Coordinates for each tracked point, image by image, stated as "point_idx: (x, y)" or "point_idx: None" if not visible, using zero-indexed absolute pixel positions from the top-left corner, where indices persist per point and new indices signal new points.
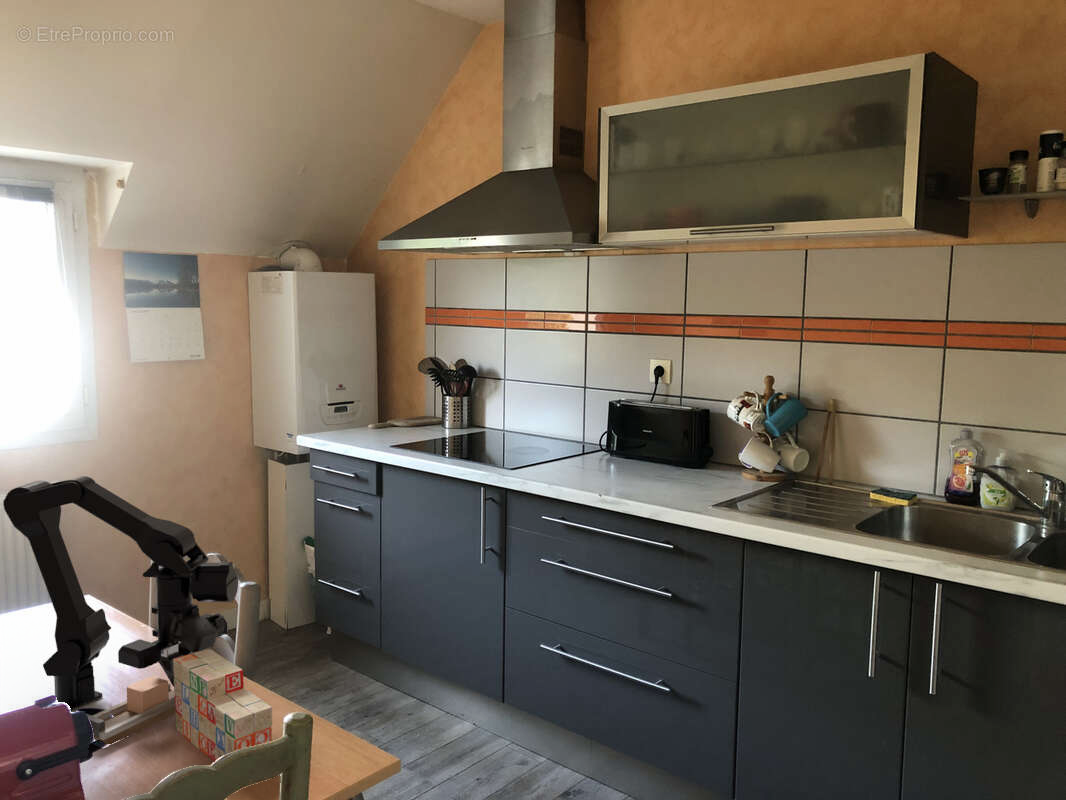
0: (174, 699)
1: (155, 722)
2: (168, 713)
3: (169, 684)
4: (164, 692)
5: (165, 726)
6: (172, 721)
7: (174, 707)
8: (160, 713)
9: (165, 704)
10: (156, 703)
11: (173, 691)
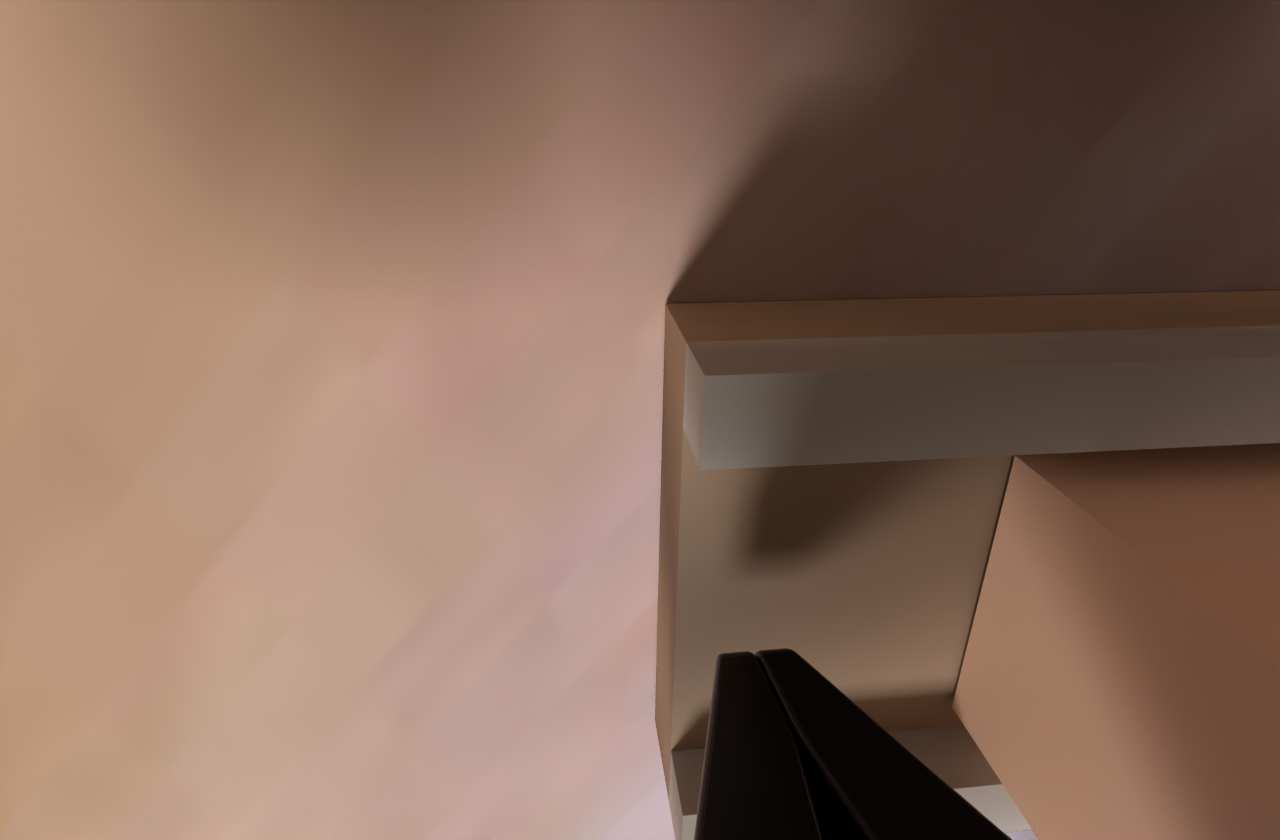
0: (1081, 386)
1: (1252, 297)
2: (1098, 310)
3: (695, 808)
4: (1237, 562)
5: (1274, 126)
6: (1136, 162)
7: (1034, 324)
8: (1266, 320)
9: (1260, 362)
10: (1272, 486)
11: (704, 679)
